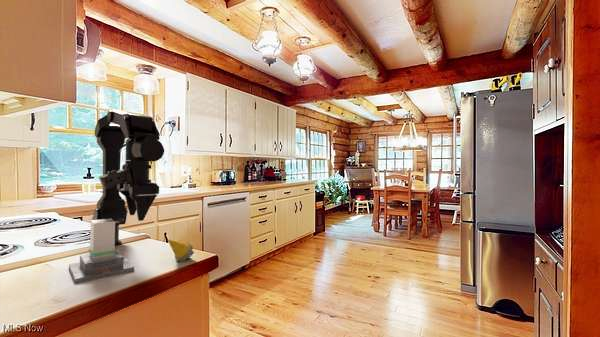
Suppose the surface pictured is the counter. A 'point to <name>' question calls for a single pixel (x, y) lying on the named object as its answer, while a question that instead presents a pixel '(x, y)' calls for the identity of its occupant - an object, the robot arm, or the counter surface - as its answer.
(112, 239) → the column
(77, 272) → the stand
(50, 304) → the counter surface
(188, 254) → the yellow-green tapered piece
